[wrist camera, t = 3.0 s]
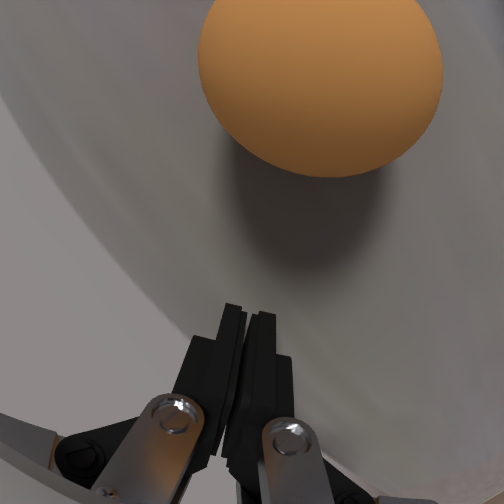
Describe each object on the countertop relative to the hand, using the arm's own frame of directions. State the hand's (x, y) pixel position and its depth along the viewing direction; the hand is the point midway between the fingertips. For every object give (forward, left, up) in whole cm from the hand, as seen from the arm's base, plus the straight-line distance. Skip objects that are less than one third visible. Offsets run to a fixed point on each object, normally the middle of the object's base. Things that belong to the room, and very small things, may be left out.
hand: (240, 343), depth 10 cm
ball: (0, -9, +1) cm, 9 cm away
